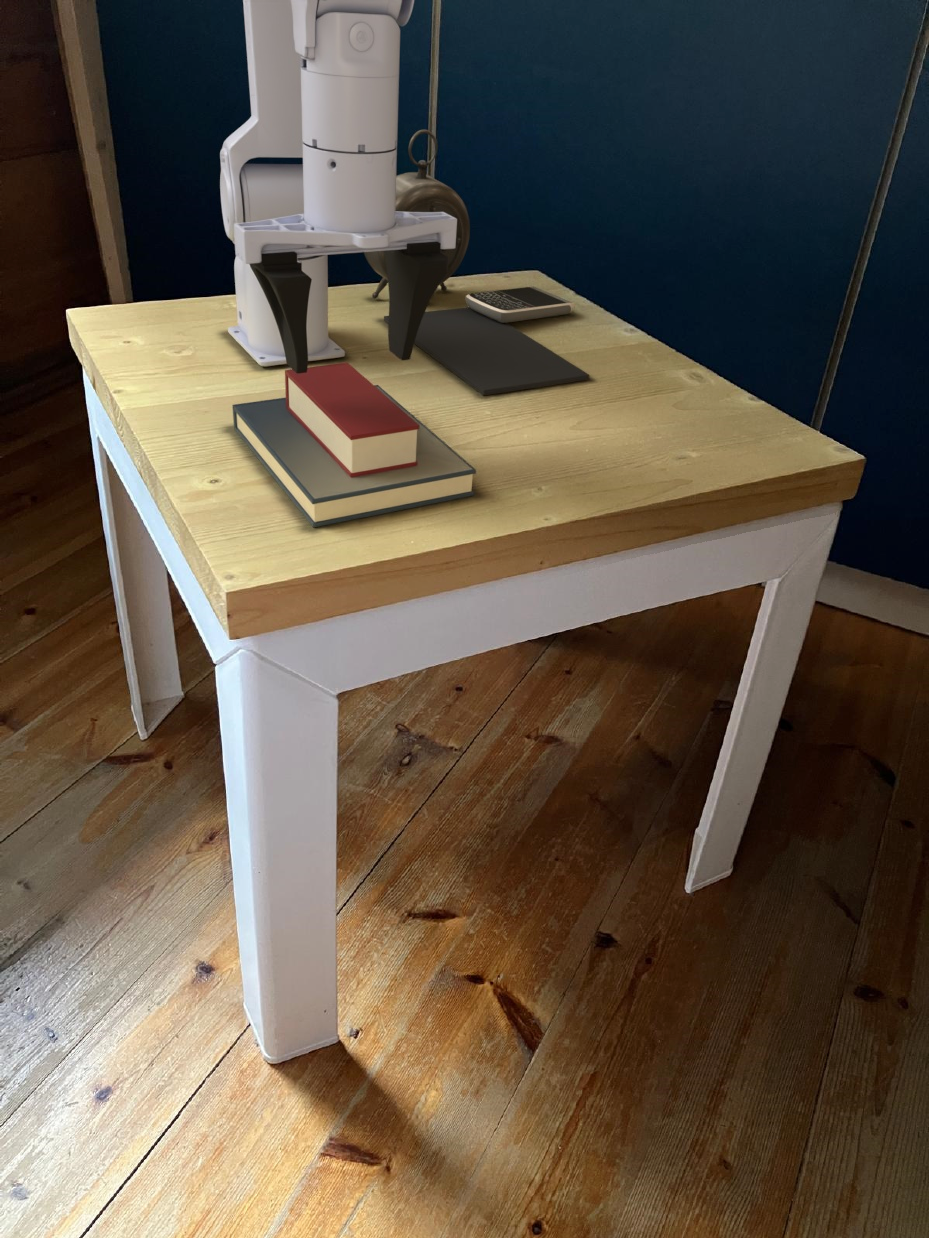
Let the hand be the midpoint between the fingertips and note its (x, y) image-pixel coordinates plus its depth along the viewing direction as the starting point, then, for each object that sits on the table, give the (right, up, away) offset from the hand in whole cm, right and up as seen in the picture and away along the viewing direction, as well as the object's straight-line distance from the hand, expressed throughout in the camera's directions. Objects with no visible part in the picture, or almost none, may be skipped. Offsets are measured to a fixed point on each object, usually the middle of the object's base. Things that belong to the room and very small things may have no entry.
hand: (349, 361), depth 67 cm
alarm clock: (+3, +16, +37) cm, 40 cm away
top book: (0, -4, +3) cm, 6 cm away
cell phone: (+14, +14, +35) cm, 40 cm away
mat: (+10, +8, +26) cm, 28 cm away
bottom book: (-1, -6, +4) cm, 8 cm away
